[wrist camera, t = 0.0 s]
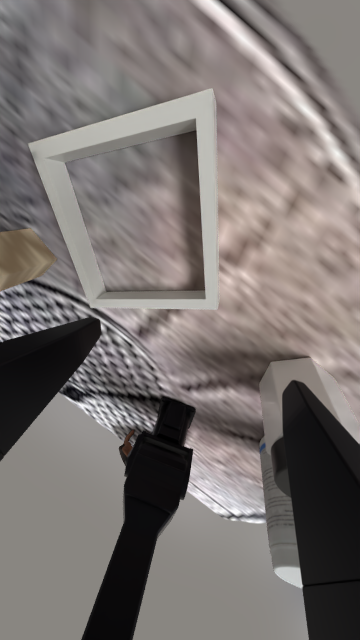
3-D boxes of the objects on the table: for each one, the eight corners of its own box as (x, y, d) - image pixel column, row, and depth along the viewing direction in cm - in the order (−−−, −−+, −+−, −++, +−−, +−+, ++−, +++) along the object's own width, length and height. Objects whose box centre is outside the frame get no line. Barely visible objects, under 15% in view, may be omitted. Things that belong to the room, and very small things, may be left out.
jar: (264, 402, 30) (277, 503, 20) (252, 362, 26) (260, 459, 16) (336, 399, 26) (395, 522, 16) (332, 353, 23) (404, 470, 13)
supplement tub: (252, 449, 36) (259, 572, 24) (268, 420, 31) (286, 558, 19) (308, 465, 35) (345, 608, 23) (334, 438, 30) (400, 602, 18)
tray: (219, 299, 23) (217, 309, 21) (101, 299, 27) (90, 307, 25) (216, 104, 15) (212, 88, 13) (50, 149, 19) (27, 143, 17)
